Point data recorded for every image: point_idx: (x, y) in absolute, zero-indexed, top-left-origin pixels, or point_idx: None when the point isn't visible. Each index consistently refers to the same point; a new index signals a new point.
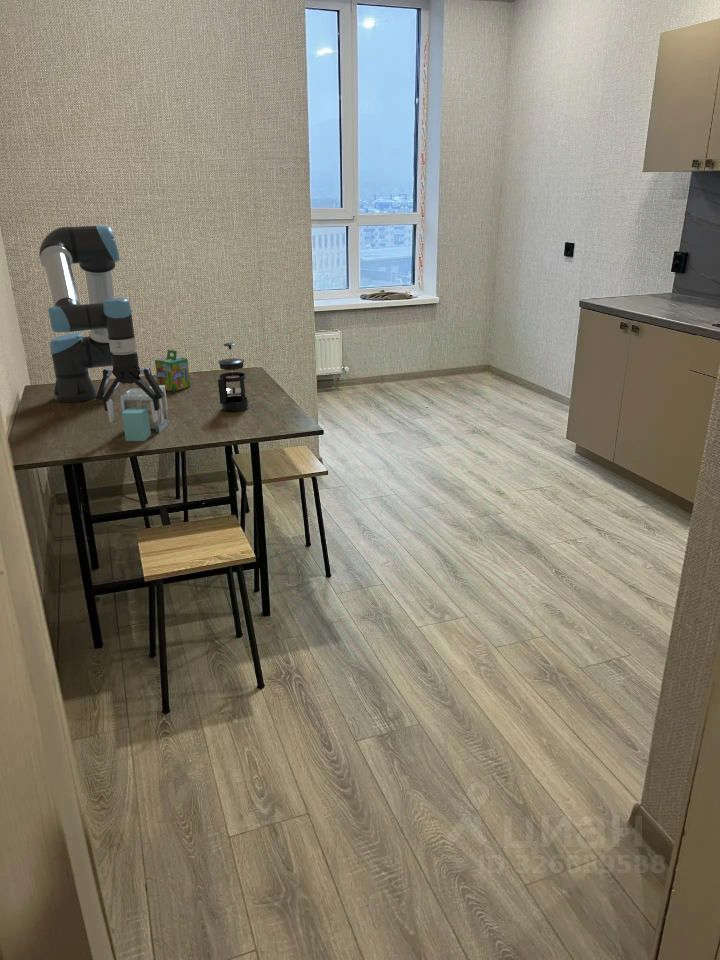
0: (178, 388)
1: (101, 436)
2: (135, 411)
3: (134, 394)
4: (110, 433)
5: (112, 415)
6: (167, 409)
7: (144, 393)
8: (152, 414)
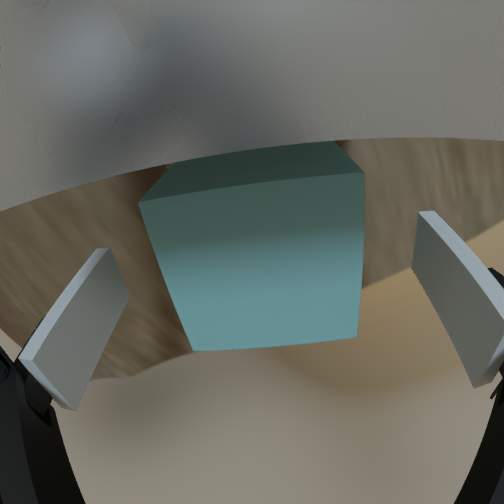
0: None
1: (70, 193)
2: (290, 309)
3: (58, 34)
4: None
5: (105, 300)
6: None
7: None
8: (434, 302)
